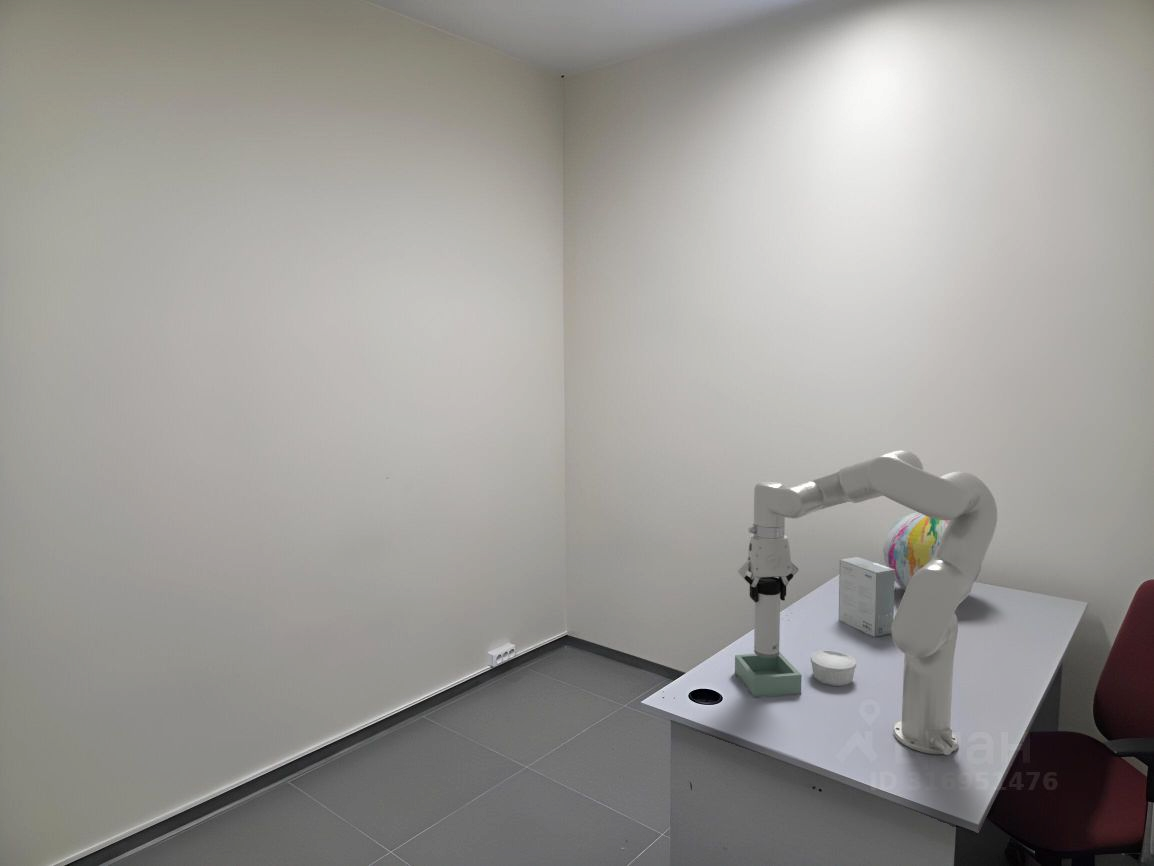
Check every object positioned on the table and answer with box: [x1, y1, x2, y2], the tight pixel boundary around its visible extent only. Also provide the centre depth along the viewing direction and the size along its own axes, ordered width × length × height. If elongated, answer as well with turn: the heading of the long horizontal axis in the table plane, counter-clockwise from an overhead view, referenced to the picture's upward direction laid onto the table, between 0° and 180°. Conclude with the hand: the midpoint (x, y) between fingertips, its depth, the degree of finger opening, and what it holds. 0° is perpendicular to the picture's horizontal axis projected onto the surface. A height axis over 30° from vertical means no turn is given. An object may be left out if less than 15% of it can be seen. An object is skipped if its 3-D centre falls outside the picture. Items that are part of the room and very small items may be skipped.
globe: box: [882, 511, 982, 591], centre depth 236 cm, size 30×30×30 cm
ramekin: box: [810, 650, 857, 687], centre depth 181 cm, size 11×11×5 cm
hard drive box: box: [838, 556, 896, 638], centre depth 212 cm, size 16×8×20 cm, turn 22°
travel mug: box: [753, 577, 782, 658], centre depth 177 cm, size 6×7×20 cm
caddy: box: [734, 651, 802, 699], centre depth 179 cm, size 13×12×5 cm
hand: (767, 598), depth 176 cm, fingers closed on travel mug, 6 cm apart
